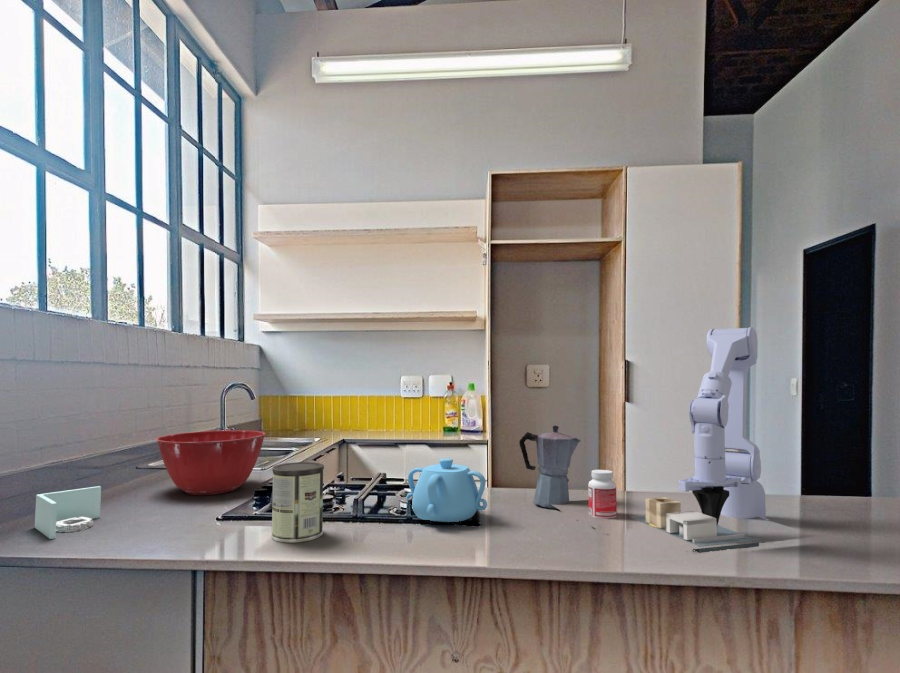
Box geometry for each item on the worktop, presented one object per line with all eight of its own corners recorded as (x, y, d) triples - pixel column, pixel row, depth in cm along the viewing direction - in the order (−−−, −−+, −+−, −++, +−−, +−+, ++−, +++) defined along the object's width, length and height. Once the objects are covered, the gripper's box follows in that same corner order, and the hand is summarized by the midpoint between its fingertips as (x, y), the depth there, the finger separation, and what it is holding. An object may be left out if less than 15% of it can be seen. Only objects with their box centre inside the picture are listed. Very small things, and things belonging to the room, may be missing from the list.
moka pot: (585, 510, 136) (584, 427, 137) (522, 509, 136) (521, 427, 137) (576, 501, 145) (576, 423, 147) (517, 500, 146) (517, 423, 147)
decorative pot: (492, 525, 123) (492, 463, 123) (422, 531, 117) (423, 466, 118) (466, 508, 138) (466, 452, 139) (403, 513, 133) (403, 455, 133)
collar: (665, 520, 122) (664, 497, 122) (681, 526, 117) (680, 502, 117) (645, 521, 120) (645, 498, 121) (660, 528, 116) (660, 503, 116)
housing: (695, 528, 115) (694, 510, 115) (716, 537, 109) (716, 518, 110) (666, 531, 113) (666, 513, 113) (687, 540, 107) (686, 521, 108)
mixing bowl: (129, 499, 145) (131, 439, 146) (196, 478, 173) (198, 428, 174) (229, 504, 140) (231, 442, 141) (281, 481, 168) (282, 430, 169)
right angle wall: (50, 542, 111) (51, 503, 111) (34, 530, 119) (36, 494, 119) (116, 529, 120) (118, 493, 120) (98, 519, 128) (99, 486, 128)
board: (681, 517, 130) (681, 499, 130) (758, 546, 108) (758, 524, 109) (629, 521, 125) (629, 503, 126) (699, 552, 104) (698, 529, 105)
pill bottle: (622, 521, 126) (621, 471, 127) (604, 525, 123) (603, 474, 123) (601, 515, 131) (600, 467, 132) (582, 519, 128) (582, 470, 128)
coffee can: (290, 526, 121) (292, 460, 122) (332, 531, 117) (333, 463, 118) (259, 539, 111) (261, 468, 112) (304, 545, 108) (305, 471, 109)
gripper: (721, 452, 120) (723, 517, 119) (667, 455, 115) (668, 523, 114) (749, 457, 113) (751, 525, 112) (692, 461, 108) (694, 532, 107)
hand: (711, 525), depth 113 cm, fingers closed
